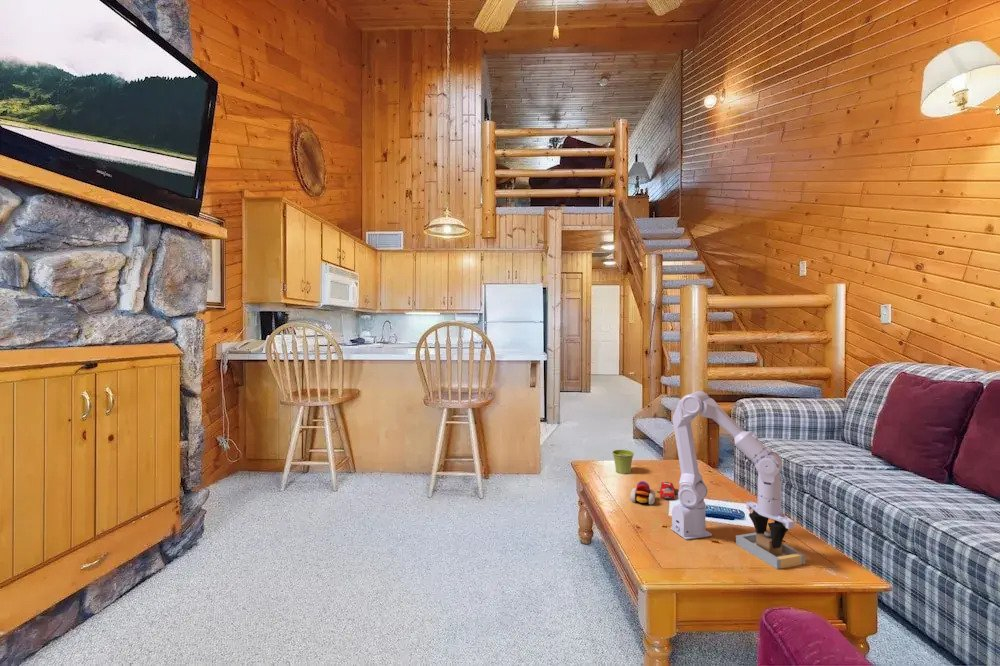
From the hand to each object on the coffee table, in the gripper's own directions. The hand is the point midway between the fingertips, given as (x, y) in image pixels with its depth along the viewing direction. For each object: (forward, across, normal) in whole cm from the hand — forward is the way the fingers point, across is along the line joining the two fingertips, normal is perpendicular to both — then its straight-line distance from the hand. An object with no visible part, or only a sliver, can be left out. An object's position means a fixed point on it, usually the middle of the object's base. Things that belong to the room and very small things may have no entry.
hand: (769, 543), depth 128 cm
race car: (+3, +47, 0) cm, 47 cm away
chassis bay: (+3, 0, 0) cm, 3 cm away
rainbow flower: (+3, +44, +13) cm, 46 cm away
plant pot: (+3, +75, +3) cm, 75 cm away
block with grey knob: (+3, 0, 0) cm, 3 cm away
